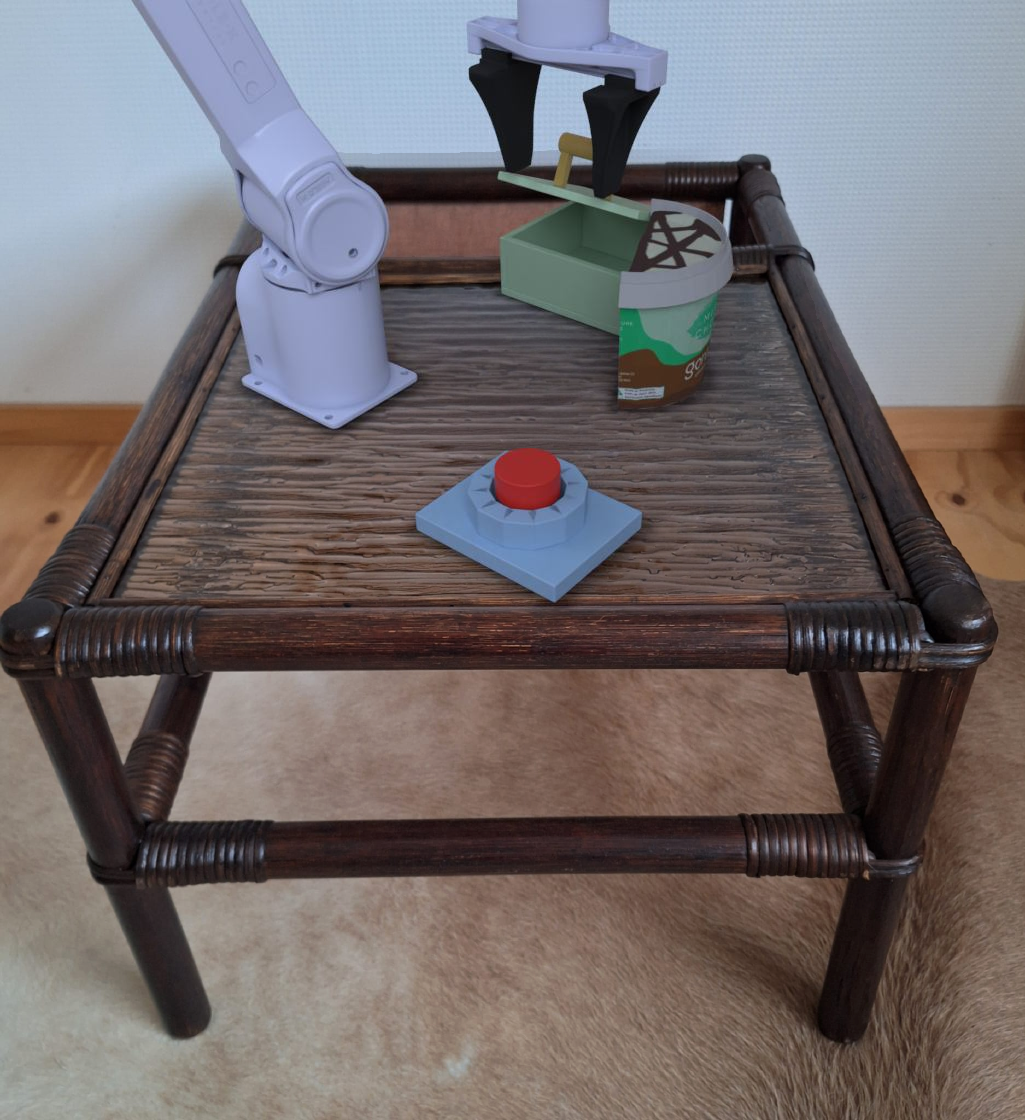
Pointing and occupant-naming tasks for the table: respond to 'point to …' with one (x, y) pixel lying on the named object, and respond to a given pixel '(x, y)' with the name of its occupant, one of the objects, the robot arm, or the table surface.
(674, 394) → the food container
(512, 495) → the button
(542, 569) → the switch block
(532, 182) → the lid
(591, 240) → the chest
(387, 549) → the table surface
